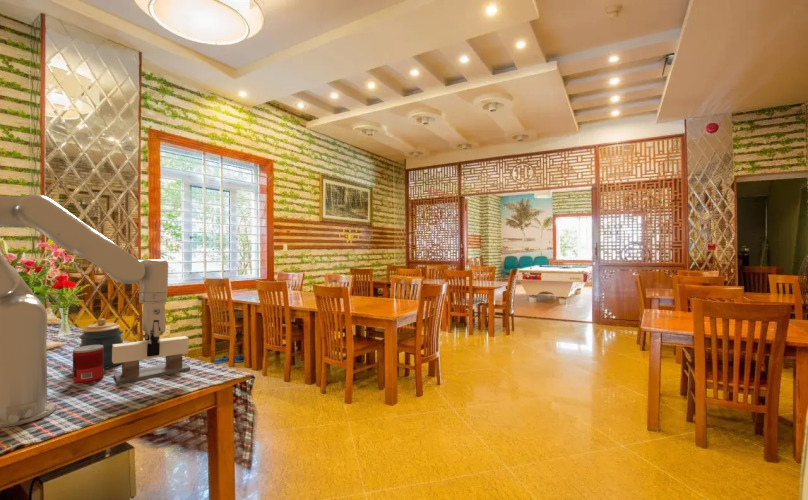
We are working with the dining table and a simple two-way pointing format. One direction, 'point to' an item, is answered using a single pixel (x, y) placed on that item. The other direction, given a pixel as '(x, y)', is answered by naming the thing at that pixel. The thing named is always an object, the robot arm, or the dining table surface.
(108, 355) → the canister
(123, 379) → the post stand
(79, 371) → the canned food
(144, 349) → the shelf board
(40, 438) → the dining table surface
